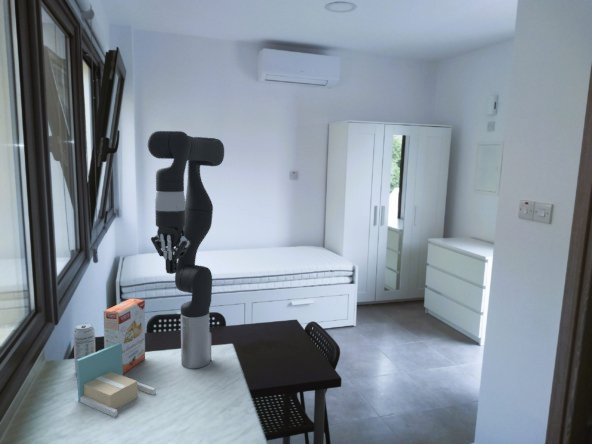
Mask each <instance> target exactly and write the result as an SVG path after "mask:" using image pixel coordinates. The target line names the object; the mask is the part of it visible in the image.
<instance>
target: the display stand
mask: <svg viewBox="0 0 592 444" xmlns="http://www.w3.org/2000/svg"><path fill="white" fill-rule="evenodd" d="M76 361H77V372H76V380H77V401H78V402H79V403H82V404H84V405H86V406H88V407H90V408H92V409H95V410H97V411H99V412H102V413H104V414H106V415H109V416H111V417H113V418H115V417H117V416H118V409H114V408H112V407H109V406H107V405H105V404H102V403H100V402H98V401H96V400H93V399H91V398H89V397H86V396H84V384H86V383H88V382H90V381H92V380H94V379H95V378H97V377H100V376H103V375H105V374H107V373H109V372H114V373H117V374H119V375H122V376H124V374H123V367H122V343H117V344H115V345H112V346H110V347H107V348H105V349H104V348H102V349H99V350H98V351H95V353H92V354H90V355H87V356H85V357H82V358H80V359H78V360H76ZM137 390H138V391H141V392H144V393H147V394H149V395H151V396H153V395H156V388H155V387H153V386H149V385H147V384H145V383H141V382H139V381H137Z"/></svg>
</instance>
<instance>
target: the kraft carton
mask: <svg viewBox="0 0 592 444" xmlns="http://www.w3.org/2000/svg"><path fill="white" fill-rule="evenodd" d="M137 382H138V380H136V379H133V378H130V377H128V376H125V375H123V376H122V375H119V374H117V373H114V372H109V373H107V374H105V375H103V376H100V377H97V378H95V379H94V380H92V381H90V382H88V383H86V384H84V396H86V397H89V398H91V399H93V400H96V401H98V402H100V403H102V404H105V405H107V406H109V407H112V408H114V409H116V410H118V408H120V407H121V406H123V405H125V404H128V403H130V402H131V401H133V400H134V399H136V398H138V394H139V393H138V391H139V389H137Z"/></svg>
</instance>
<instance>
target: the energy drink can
mask: <svg viewBox="0 0 592 444" xmlns="http://www.w3.org/2000/svg"><path fill="white" fill-rule="evenodd" d="M72 335H73V337H72V338H73V353H74V355H73V356H74V372H75V373H77V361H76V360H78V359H80V358H82V357H85V356H87V355H90V354H92V353H95V352H96V332H95V328H94V326H93V324H92V323H90V322H89V323H88V322H86V323H80V324H77V325H76V326H75V327H74V330H73V333H72Z"/></svg>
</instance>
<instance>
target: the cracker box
mask: <svg viewBox="0 0 592 444" xmlns="http://www.w3.org/2000/svg"><path fill="white" fill-rule="evenodd" d="M145 305H146V301H145V300H144V299H138V298H129V299H127V300H125V301H122V302H120V303H117V304H116V305H114V306H112V307H109V308H106V309H105V310H104V311H103V333H104V334H103V338H104V339H103V343H104V344H103V346H104V348H103V349H105V348H107V347H110V346H112V345H115V344H117V343H122V367H123V375H124V374H126V373H128V372H129V371H130V370H131V369H133V368H134V367H135V366H137V365H138V364H140V363H141V362H142V361H144V360H145V359H146V326H145V325H146V313H145V312H146V311H145V310H146V308H145V307H146V306H145Z"/></svg>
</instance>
